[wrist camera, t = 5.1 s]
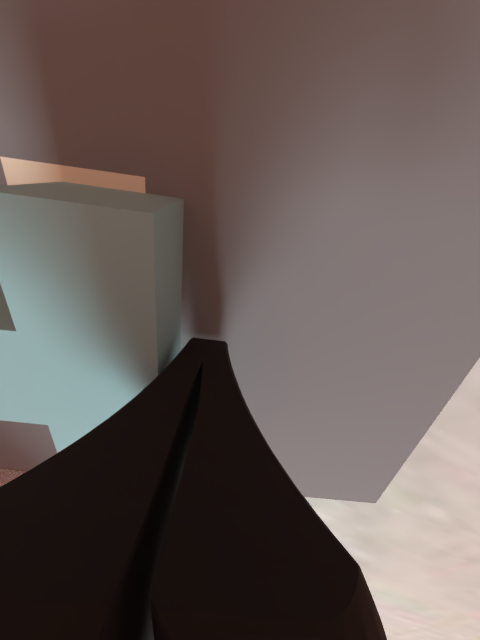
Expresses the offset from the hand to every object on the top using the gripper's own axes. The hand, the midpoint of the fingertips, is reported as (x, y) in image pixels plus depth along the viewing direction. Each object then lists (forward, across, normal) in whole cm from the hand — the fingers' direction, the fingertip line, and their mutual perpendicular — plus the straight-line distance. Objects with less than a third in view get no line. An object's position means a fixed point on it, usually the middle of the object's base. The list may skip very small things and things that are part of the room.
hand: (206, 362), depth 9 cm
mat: (+2, +2, 0) cm, 3 cm away
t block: (+1, +6, 0) cm, 6 cm away
